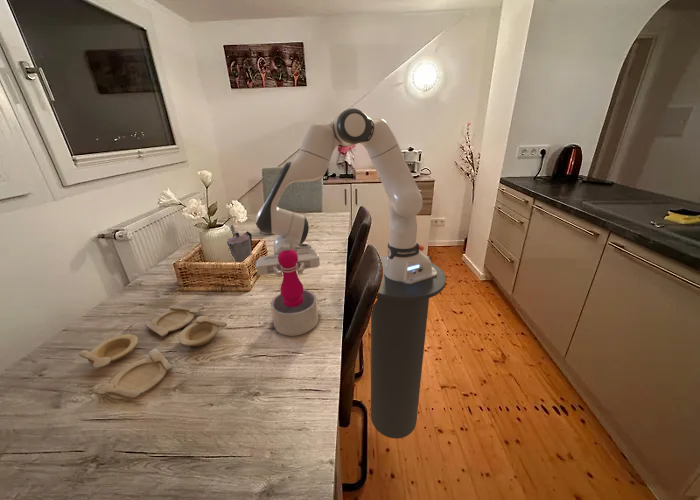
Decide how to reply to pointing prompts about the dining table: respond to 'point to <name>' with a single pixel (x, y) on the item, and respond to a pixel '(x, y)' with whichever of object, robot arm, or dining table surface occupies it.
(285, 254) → the pepper mill
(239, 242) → the moka pot
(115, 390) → the tableware set
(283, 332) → the round grey bowl
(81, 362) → the dining table surface
